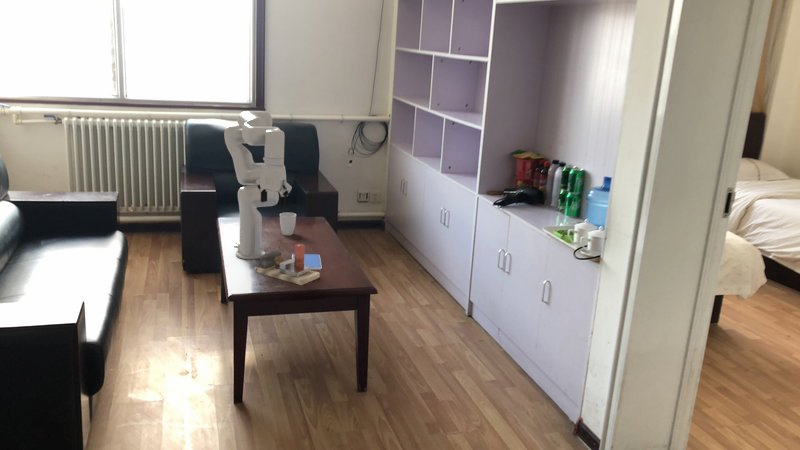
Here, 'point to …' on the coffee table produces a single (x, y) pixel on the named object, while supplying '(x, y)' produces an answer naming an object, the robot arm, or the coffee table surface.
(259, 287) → the coffee table surface
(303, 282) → the base
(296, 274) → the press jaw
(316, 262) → the tablet computer
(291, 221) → the cup
